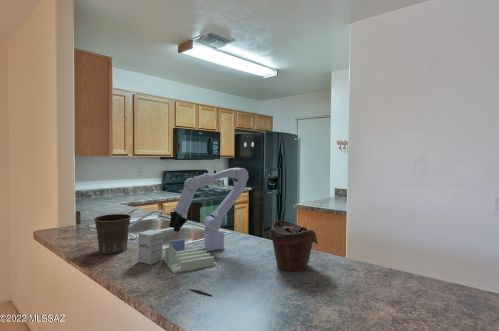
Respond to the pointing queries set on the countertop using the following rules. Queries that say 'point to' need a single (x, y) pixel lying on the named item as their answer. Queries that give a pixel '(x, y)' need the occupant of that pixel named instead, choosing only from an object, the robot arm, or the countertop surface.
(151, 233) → the supplement box
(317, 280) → the countertop surface
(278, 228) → the brown covered basket
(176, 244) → the slate blue tile
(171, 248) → the dish rack
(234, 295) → the countertop surface
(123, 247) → the plant pot
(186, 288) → the fork
